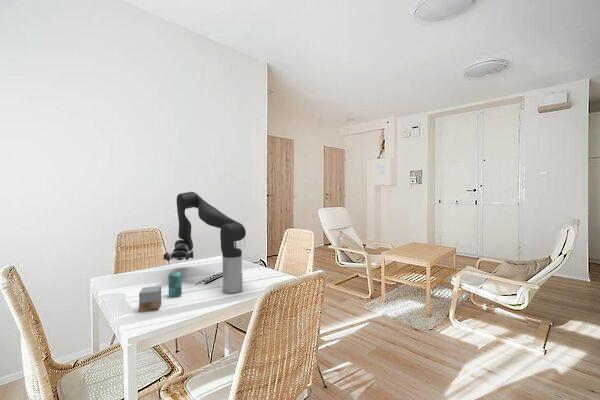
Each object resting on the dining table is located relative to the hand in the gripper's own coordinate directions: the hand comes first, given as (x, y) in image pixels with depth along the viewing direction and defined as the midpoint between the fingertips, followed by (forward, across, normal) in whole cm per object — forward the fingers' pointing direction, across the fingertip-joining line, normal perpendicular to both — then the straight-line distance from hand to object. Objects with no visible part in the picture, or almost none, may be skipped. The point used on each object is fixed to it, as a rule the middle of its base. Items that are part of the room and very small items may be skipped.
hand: (177, 258), depth 140 cm
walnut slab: (+24, -8, +15) cm, 29 cm away
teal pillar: (+11, 0, +14) cm, 18 cm away
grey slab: (+24, -8, +11) cm, 27 cm away
